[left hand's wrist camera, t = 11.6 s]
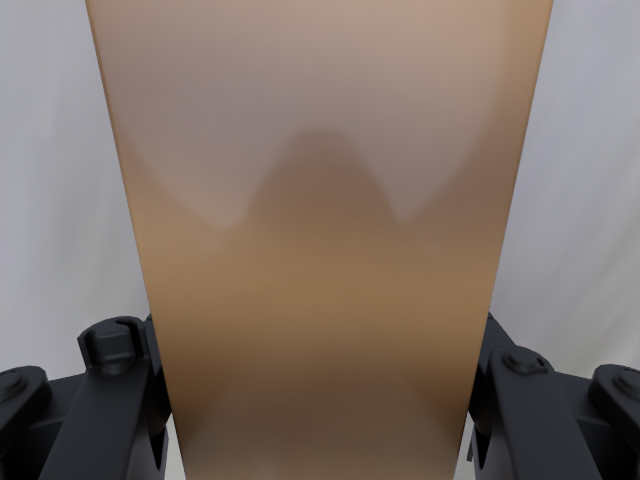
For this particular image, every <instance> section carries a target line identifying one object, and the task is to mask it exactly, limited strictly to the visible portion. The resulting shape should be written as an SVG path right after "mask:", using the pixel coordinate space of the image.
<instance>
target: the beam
mask: <svg viewBox="0 0 640 480" xmlns="http://www.w3.org/2000/svg"><path fill="white" fill-rule="evenodd" d="M553 1H554V0H85V3H86V7H87V12H88V17H89V22H90V26H91V31H92V36H93V41H94V45H95V50H96V55H97V60H98V64H99V69H100V74H101V79H102V83H103V88H104V93H105V98H106V102H107V107H108V112H109V116H110V121H111V126H112V131H113V135H114V140H115V145H116V150H117V154H118V159H119V164H120V169H121V173H122V178H123V183H124V188H125V192H126V197H127V202H128V207H129V211H130V216H131V221H132V225H133V230H134V235H135V240H136V244H137V249H138V254H139V259H140V263H141V268H142V273H143V278H144V282H145V287H146V292H147V297H148V301H149V306H150V311H151V316H152V320H153V325H154V330H155V334H156V339H157V344H158V349H159V353H160V358H161V363H162V368H163V372H164V377H165V382H166V387H167V391H168V396H169V401H170V406H171V410H172V415H173V420H174V425H175V429H176V434H177V439H178V444H179V448H180V453H181V458H182V462H183V467H184V472H185V477H186V480H453V479H454V475H455V470H456V465H457V460H458V455H459V451H460V446H461V441H462V436H463V431H464V427H465V422H466V417H467V412H468V408H469V403H470V398H471V393H472V388H473V384H474V379H475V374H476V369H477V364H478V360H479V355H480V350H481V345H482V341H483V336H484V331H485V326H486V321H487V317H488V312H489V307H490V302H491V297H492V293H493V288H494V283H495V278H496V274H497V269H498V264H499V259H500V254H501V250H502V245H503V240H504V235H505V230H506V226H507V221H508V216H509V211H510V207H511V202H512V197H513V192H514V187H515V183H516V178H517V173H518V168H519V163H520V159H521V154H522V149H523V144H524V140H525V135H526V130H527V125H528V120H529V116H530V111H531V106H532V101H533V96H534V92H535V87H536V82H537V77H538V72H539V68H540V63H541V58H542V53H543V49H544V44H545V39H546V34H547V29H548V25H549V20H550V15H551V10H552V5H553Z"/></svg>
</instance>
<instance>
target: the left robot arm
mask: <svg viewBox="0 0 640 480" xmlns="http://www.w3.org/2000/svg"><path fill="white" fill-rule="evenodd" d="M77 340H78V343H79V347H80V350H81V353H82V356H83V360H84V363H85V366H86V371H85V373H82V374H79V375H75V376H70V377H65V378H61V379H56V380H51V381H48V378H47V375H46V373H45V371H44V370H43V369H42V368H40V367H37V366H23V367H17V368H13V369H9V370H6V371H3V372H1V373H0V480H164V478H165V468H166V459H167V449H168V440H169V438H168V432H167V427H166V423H167V421H168V419H169V417H170V414H171V412H172V410H171V406H170V401H169V396H168V391H167V387H166V382H165V377H164V372H163V368H162V363H161V358H160V353H159V349H158V344H157V339H156V334H155V330H154V325H153V320H152V316H151V313H150V314H149V316H148V317H147V318H146V321H144V322H143V321H141V320H140V319H139V318H136V317H131V316H122V317H115V318H110V319H106V320H103V321H101V322H99V323H96V324H94V325H92V326H91V327H89V328H88V329H86V330H85V331H83V332H82V333H81V335H80V336H79V337H78V338H77ZM468 411H469V413H470V415H471V418H472V420H473V422H474V427H473V432H472V436H471V441H470V445H469V450H468V455H467V461H470V462H471V461H472V457H473V458H474V467H475V477H476V480H640V371H639V370H636V369H632V368H630V367H626V366H621V365H614V364H606V365H600V366H599V367H598V368H596V369H595V371H594V374H593V377H592V379H587V378H582V377H577V376H573V375H568V374H563V373H559V372H556V371H554V368H553V367H552V366H551V364H550V363H549V362H548V361H547V360H546V359H545V358H544V357H542V356H541V355H540V354H538V353H536V352H534V351H532V350H530V349H528V348H525V347H521V346H517V345H515V344H514V342H513V341H512V340H511V339H510V337H509V336H508V335H507V333H506V332H505V331H504V330H503V328H502V327H501V326H500V325H499V323H498V322H497V321H496V320H495V319H494V317H493V316H492V315H491V313H490V312H488V317H487V321H486V326H485V331H484V336H483V341H482V345H481V350H480V355H479V360H478V364H477V369H476V374H475V379H474V384H473V388H472V393H471V398H470V403H469V408H468Z"/></svg>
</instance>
